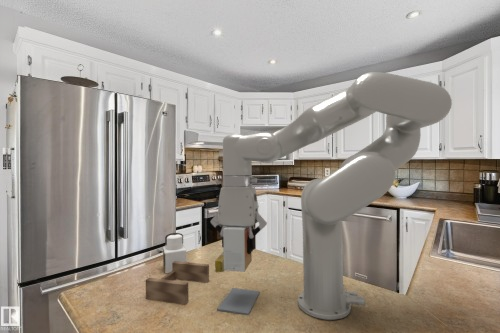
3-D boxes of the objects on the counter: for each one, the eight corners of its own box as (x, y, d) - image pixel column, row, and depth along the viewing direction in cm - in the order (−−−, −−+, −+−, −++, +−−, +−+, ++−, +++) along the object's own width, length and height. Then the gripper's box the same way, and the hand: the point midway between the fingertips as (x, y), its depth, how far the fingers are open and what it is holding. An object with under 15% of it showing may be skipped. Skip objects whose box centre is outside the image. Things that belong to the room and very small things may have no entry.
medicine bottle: (163, 266, 89) (162, 233, 89) (183, 263, 92) (183, 230, 92) (164, 274, 83) (164, 237, 83) (186, 270, 85) (186, 235, 85)
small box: (245, 272, 60) (244, 229, 61) (223, 270, 62) (222, 228, 62) (252, 260, 68) (251, 222, 68) (232, 259, 70) (232, 221, 70)
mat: (259, 292, 69) (259, 291, 69) (248, 315, 58) (248, 313, 58) (232, 289, 71) (232, 287, 71) (217, 310, 61) (217, 308, 61)
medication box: (225, 259, 96) (224, 248, 96) (232, 259, 95) (231, 249, 95) (215, 272, 84) (214, 260, 84) (222, 272, 83) (222, 260, 83)
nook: (209, 280, 77) (208, 264, 77) (185, 304, 64) (185, 284, 64) (175, 276, 80) (174, 261, 80) (145, 298, 67) (145, 280, 67)
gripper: (272, 181, 66) (273, 249, 66) (213, 181, 71) (213, 244, 71) (266, 183, 59) (267, 259, 59) (201, 183, 64) (201, 253, 64)
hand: (238, 250), depth 65 cm, fingers closed on small box, 5 cm apart
